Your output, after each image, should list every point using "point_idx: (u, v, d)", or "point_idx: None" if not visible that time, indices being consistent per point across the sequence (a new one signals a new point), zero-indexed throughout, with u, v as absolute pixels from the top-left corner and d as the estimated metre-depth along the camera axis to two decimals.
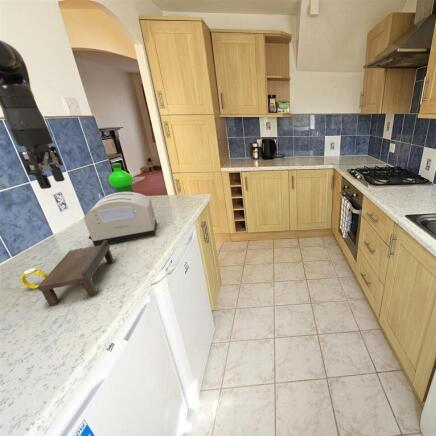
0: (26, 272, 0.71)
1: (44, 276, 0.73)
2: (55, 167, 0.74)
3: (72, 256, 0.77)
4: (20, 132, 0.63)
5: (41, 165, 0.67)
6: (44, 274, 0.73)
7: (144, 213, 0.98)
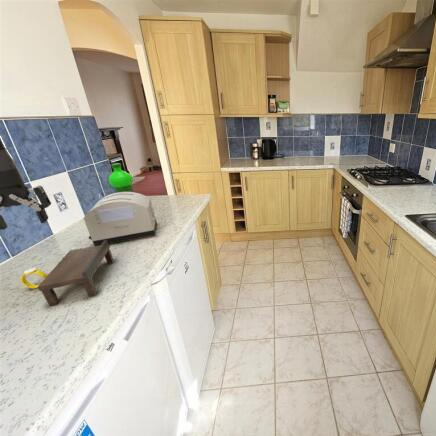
0: (26, 272, 0.71)
1: (44, 276, 0.73)
2: None
3: (72, 256, 0.77)
4: None
5: None
6: (44, 274, 0.73)
7: (144, 213, 0.98)
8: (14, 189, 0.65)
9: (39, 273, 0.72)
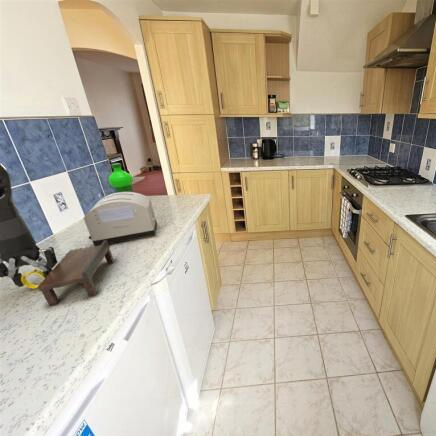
0: (26, 272, 0.71)
1: (44, 276, 0.73)
2: None
3: (72, 256, 0.77)
4: None
5: None
6: None
7: (144, 213, 0.98)
8: (26, 251, 0.69)
9: (39, 273, 0.72)
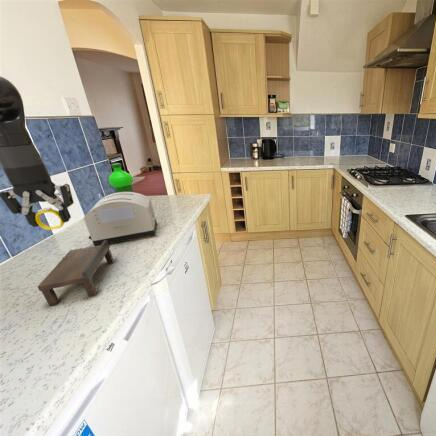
0: (41, 210, 0.66)
1: (60, 216, 0.68)
2: None
3: (72, 256, 0.77)
4: None
5: None
6: None
7: (144, 213, 0.98)
8: (41, 185, 0.63)
9: (54, 212, 0.67)
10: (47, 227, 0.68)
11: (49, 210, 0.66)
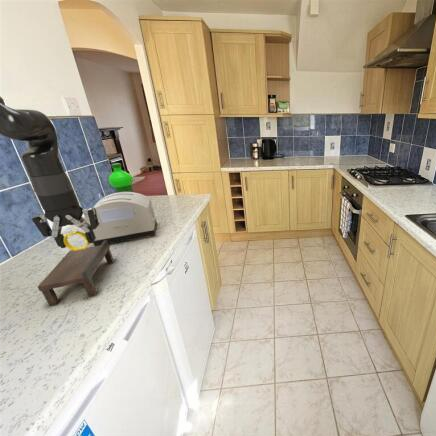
0: (69, 233, 0.69)
1: (86, 238, 0.71)
2: None
3: (72, 256, 0.77)
4: None
5: None
6: None
7: (144, 213, 0.98)
8: (70, 210, 0.67)
9: (81, 234, 0.71)
10: (74, 248, 0.72)
11: (76, 232, 0.70)
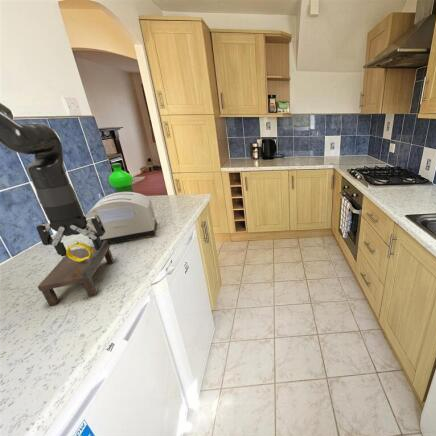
0: (69, 245, 0.71)
1: (87, 247, 0.72)
2: None
3: None
4: None
5: (55, 237, 0.68)
6: (87, 246, 0.73)
7: (144, 213, 0.98)
8: (75, 220, 0.68)
9: (82, 245, 0.72)
10: (78, 259, 0.73)
11: (77, 244, 0.71)
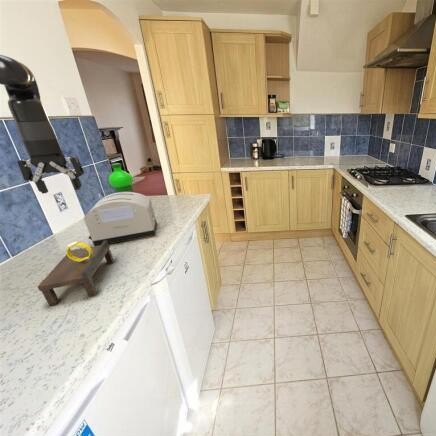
0: (69, 245, 0.71)
1: (87, 247, 0.72)
2: None
3: None
4: None
5: None
6: (87, 246, 0.73)
7: (144, 213, 0.98)
8: (54, 157, 0.73)
9: (82, 245, 0.72)
10: (78, 259, 0.73)
11: (77, 244, 0.71)
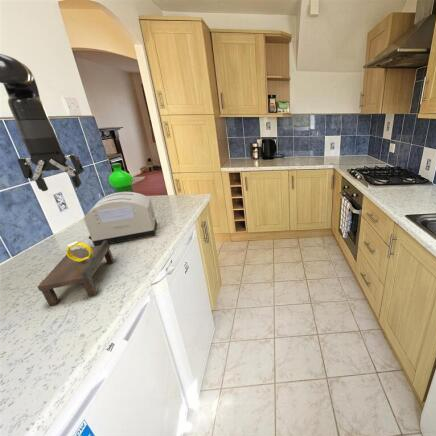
0: (70, 245, 0.71)
1: (87, 247, 0.72)
2: None
3: None
4: None
5: None
6: (87, 246, 0.73)
7: (144, 213, 0.98)
8: (54, 155, 0.74)
9: (82, 245, 0.72)
10: (78, 259, 0.73)
11: (77, 244, 0.71)
